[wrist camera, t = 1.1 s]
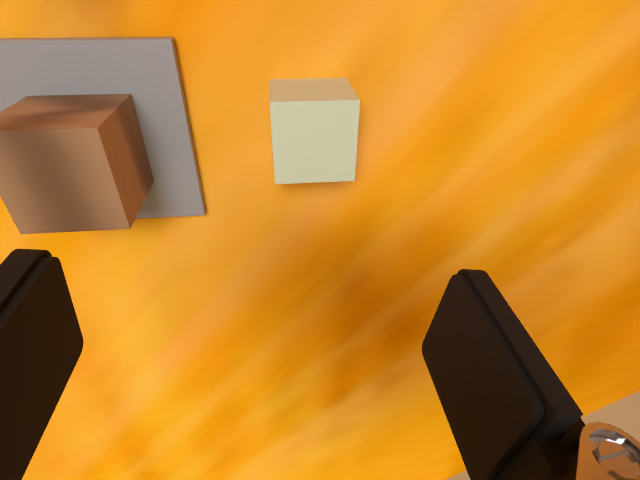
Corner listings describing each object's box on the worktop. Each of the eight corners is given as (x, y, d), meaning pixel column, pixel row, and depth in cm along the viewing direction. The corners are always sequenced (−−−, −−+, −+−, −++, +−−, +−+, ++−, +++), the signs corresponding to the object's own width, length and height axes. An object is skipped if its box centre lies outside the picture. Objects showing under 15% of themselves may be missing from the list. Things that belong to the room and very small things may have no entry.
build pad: (173, 37, 24) (170, 39, 23) (205, 209, 31) (204, 215, 30) (-44, 38, 22) (-53, 41, 22) (41, 217, 29) (36, 223, 29)
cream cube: (345, 77, 26) (360, 99, 22) (342, 149, 29) (354, 180, 25) (269, 78, 26) (269, 102, 22) (274, 151, 29) (275, 184, 24)
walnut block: (131, 93, 24) (96, 127, 20) (154, 181, 28) (130, 228, 23) (27, 95, 24) (-34, 131, 19) (64, 184, 27) (20, 234, 23)
